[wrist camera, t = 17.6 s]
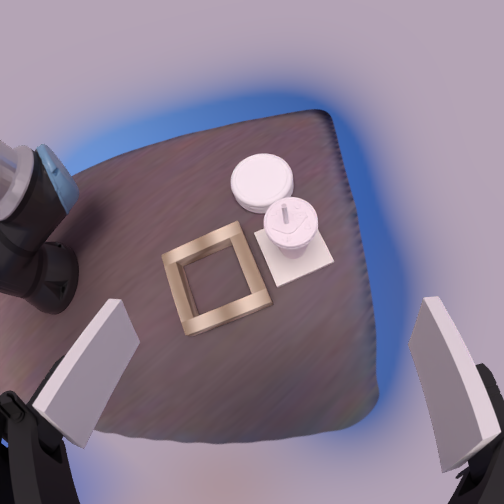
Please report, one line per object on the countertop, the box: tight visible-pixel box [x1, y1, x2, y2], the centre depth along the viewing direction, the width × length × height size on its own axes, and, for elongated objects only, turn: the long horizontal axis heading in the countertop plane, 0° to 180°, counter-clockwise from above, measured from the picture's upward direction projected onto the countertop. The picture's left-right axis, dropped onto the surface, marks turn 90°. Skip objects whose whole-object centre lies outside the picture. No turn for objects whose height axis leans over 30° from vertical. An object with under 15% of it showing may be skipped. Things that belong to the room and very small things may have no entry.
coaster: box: [231, 154, 294, 214], centre depth 45 cm, size 10×10×4 cm
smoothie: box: [264, 197, 318, 259], centre depth 35 cm, size 6×6×14 cm
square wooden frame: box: [161, 221, 273, 336], centre depth 41 cm, size 13×13×3 cm
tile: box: [254, 228, 334, 288], centre depth 42 cm, size 9×9×1 cm
